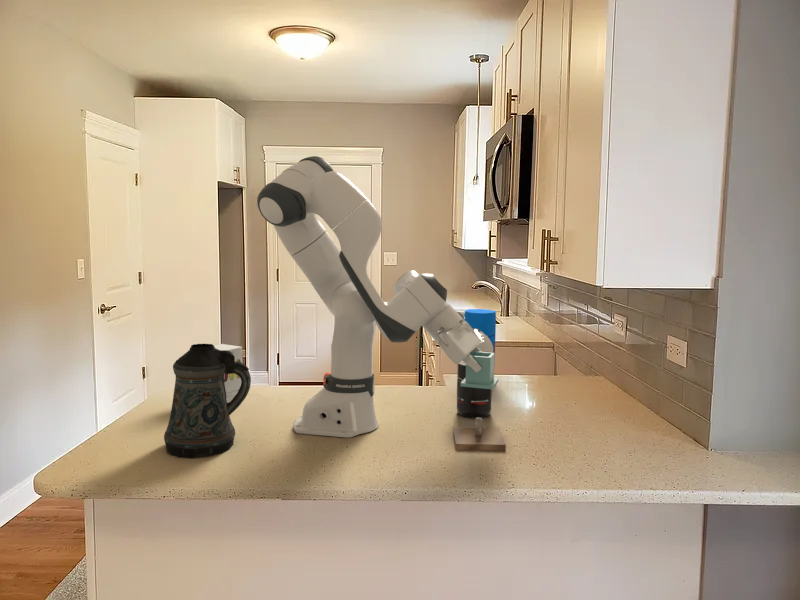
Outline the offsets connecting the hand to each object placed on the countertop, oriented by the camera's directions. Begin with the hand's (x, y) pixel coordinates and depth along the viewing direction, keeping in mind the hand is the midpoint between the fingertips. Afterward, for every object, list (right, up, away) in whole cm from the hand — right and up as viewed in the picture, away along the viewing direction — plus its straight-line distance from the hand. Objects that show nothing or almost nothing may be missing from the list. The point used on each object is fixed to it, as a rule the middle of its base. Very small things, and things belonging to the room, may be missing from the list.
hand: (482, 366), depth 151 cm
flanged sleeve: (-1, -4, +1) cm, 4 cm away
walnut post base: (-1, -19, +2) cm, 19 cm away
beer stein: (-68, -19, -2) cm, 71 cm away
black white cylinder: (+1, -17, +25) cm, 30 cm away
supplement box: (-75, -15, +35) cm, 84 cm away
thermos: (+7, -12, +61) cm, 62 cm away
